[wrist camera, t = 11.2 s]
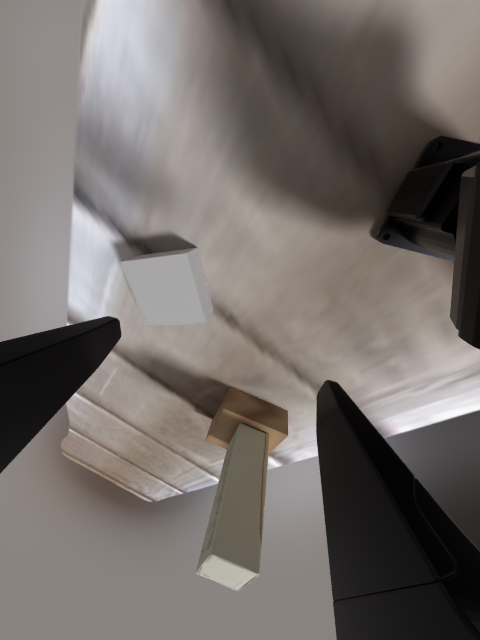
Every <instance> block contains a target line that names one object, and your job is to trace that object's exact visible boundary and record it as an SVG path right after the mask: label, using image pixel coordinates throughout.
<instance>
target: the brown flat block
mask: <svg viewBox="0 0 480 640" xmlns="http://www.w3.org/2000/svg"><path fill="white" fill-rule="evenodd" d="M239 424H244V425H246V426H249V427H251V428H254V429H256V430H259V431H261V432H263V433H266V434H268V435H269V451H268V454H269V453H270V452H272V451H273V450H274V449H275V448H276V447H277V446H278V445H279V444H280V443H281V442H282V441H283V440H284V439H285V438H286V437H287V436H288V411H287V410H284V409H282V408H279V407H277V406H275V405H272V404H270V403H268V402H265V401H263V400H260V399H258V398H256V397H253V396H251V395H249V394H246V393H244V392H241V391H239V390H237V389H234V388H232V387H230V388H229V390H228V392H227V394H226V395H225V397H224V399H223V401H222V403H221V405H220V406H219V408H218V410H217V412H216V414H215V416H214V417H213V419H212V422H211V425H210V428H209V431H208V434H207V437H206V441H208V442H210V443H213V444H215V445H218V446H220V447H223V448H225V449H227V447H228V445H229V443H230V441H231V439H232V437H233V435H234V433H235V431H236V430H237V428H238V426H239Z"/></svg>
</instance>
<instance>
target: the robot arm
mask: <svg viewBox="0 0 480 640" xmlns="http://www.w3.org/2000/svg"><path fill="white" fill-rule="evenodd" d="M435 143H438V145H439V147H438V149H437V150H436V151H435V152H434V151H433V146H434V144H435ZM387 212H388V217H387V219H386V221H385V223H384V225H383V227H382V228H381V230H380V232H379V234H378V236H377V240H378V241H379V242H381V243H383V244H387V245H391V246H395V247H399V248H403V249H407V250H411V251H415V252H419V253H423V254H426V255H430V256H434V257H438V258H442V259H446V260H450V261H454V272H453V285H452V298H451V311H450V318H451V320H452V322H453V323H454V325H455V327H456V328H457V329H458V330H459V333H458V336H459V337H460V338H461V339H463V340H464V341H466V342H467V343H469V344H470V345H472V346H474V347H476V348H478V349H480V144H476V143H472V142H467V141H463V140H458V139H454V138H449V137H445V136H440V137H437V138H435V139H432V140H431V141H430V142H429V143H428V144H427V146H426V147H425V149H424V151H423V153H422V155H421V156H420V158H419V160H418V162H417V164H416V166H415V167H414V169H413V170H411V171H410V172H408V173H407V175H406V177H405V179H404V181H403V183H402V185H401V186H400V188H399V190H398V192H397V194H396V196H395V198H394V200H393V201H392V203H391V205H390V207H389V209H388V211H387ZM386 233H388V237H387V238H386V239H383V236H384V235H385V234H386ZM120 338H121V328H120V321H119V320H118V319H117V318H114V317H110V316H107V317H103V318H98V319H94V320H90V321H86V322H82V323H78V324H73V325H69V326H65V327H61V328H57V329H52V330H48V331H44V332H40V333H36V334H32V335H28V336H23V337H19V338H15V339H11V340H7V341H2V342H0V473H1V472H2V471H3V470H4V469H5V468H6V467H7V466H8V465H9V463H10V462H11V461H12V460H13V459H14V458H15V457H16V456H17V455H18V454H19V453H20V452H21V451H22V449H23V448H24V447H25V446H26V445H27V444H28V443H29V442H30V441H31V440H32V439H33V438H34V437H35V435H36V434H37V433H38V432H39V431H40V430H41V429H42V428H43V427H44V426H45V425H46V424H47V422H48V421H49V420H50V419H51V418H52V417H53V416H54V415H55V414H56V413H57V411H58V410H59V409H60V408H61V407H62V406H63V405H64V404H65V403H66V402H67V401H68V400H69V399H70V398H71V397H72V395H73V394H74V393H75V392H76V391H77V390H78V389H79V388H80V387H81V386H82V385H83V384H84V383H85V381H86V380H87V379H88V378H89V377H90V376H91V375H92V374H93V373H94V372H95V371H96V369H97V368H98V367H99V366H100V365H101V363H102V362H103V361H104V359H105V358H106V357H107V355H108V354H109V353H110V351H111V350H112V349H113V347H114V346H115V345H116V343H117V342H118V341H119V339H120ZM316 432H317V446H318V456H319V465H320V475H321V485H322V494H323V505H324V514H325V525H326V535H327V544H328V554H329V565H330V574H331V583H332V584H331V585H332V594H333V600H334V601H333V607H334V616H335V626H336V636H337V640H480V551H479V549H478V548H477V547H476V546H475V545H474V544H473V543H472V542H471V541H470V539H469V538H468V537H467V536H466V535H465V534H464V533H463V532H462V531H461V529H460V528H459V527H458V526H457V525H456V524H455V523H454V522H453V520H452V519H451V518H450V517H449V516H448V515H447V514H446V512H445V511H444V510H443V509H442V508H441V506H440V505H439V504H438V503H437V502H436V501H435V500H434V498H433V497H432V496H431V495H430V494H429V492H428V491H427V490H426V489H425V488H424V487H423V485H422V484H421V483H420V481H419V480H418V479H417V478H415V476H414V474H413V473H412V472H411V471H410V469H409V468H408V467H407V466H406V465H405V463H404V462H403V461H402V460H401V459H400V457H399V456H398V455H397V454H396V453H395V451H394V450H393V449H392V448H391V447H390V446H389V444H388V443H387V442H386V441H385V439H384V438H383V437H382V436H381V434H380V433H379V432H378V431H377V430H376V428H375V427H374V426H373V425H372V424H371V422H370V421H369V420H368V419H367V418H366V416H365V415H364V414H363V413H362V411H361V410H360V409H359V408H358V407H357V405H356V404H355V403H354V402H353V401H352V399H351V398H350V397H349V396H348V395H347V393H346V392H345V391H344V390H343V389H342V387H341V386H340V385H339V384H338V383H337V382H334V381H331V380H326V381H325V382H324V384H323V385H322V387H321V388H320V390H319V392H318V394H317V422H316Z"/></svg>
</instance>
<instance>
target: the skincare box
mask: <svg viewBox="0 0 480 640" xmlns="http://www.w3.org/2000/svg"><path fill="white" fill-rule="evenodd" d="M268 451H269V435H268V434H266V433H263V432H261V431H259V430H256V429H254V428H251V427H249V426H246V425H244V424H239V426H238V428H237V430H236V431H235V433H234V435H233V437H232V439H231V441H230V443H229V445H228V447H227V451H226V456H225V459H224V463H223V467H222V471H221V475H220V479H219V483H218V487H217V491H216V495H215V499H214V503H213V507H212V511H211V515H210V519H209V523H208V527H207V531H206V534H205V539H204V543H203V546H202V550H201V554H200V558H199V562H198V566H197V570H196V574H198V575H201V576H203V577H206V578H208V579H211V580H213V581H215V582H218V583H220V584H222V585H224V586H226V587H229V588H231V589H233V590H235V591H239V590H240V589H242V588H243V587H245V586H246V585H248V584H249V583H251V582H252V581H253V580H254V579H256V578H257V577H258V576H259V575H260V562H261V547H262V534H263V519H264V506H265V493H266V478H267V465H268Z"/></svg>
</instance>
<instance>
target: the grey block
mask: <svg viewBox="0 0 480 640" xmlns="http://www.w3.org/2000/svg"><path fill="white" fill-rule="evenodd" d="M119 263H120V265H121V267H122V270H123V272H124V274H125V277H126V279H127V281H128V283H129V286H130V288H131V290H132V293H133V295H134V297H135V300H136V302H137V304H138V306H139V309H140V311H141V313H142V316H143V318H144V320H145V322H146V325H147V326H150V325H175V324H200V323H206V322H207V321H208V319H209V317H210V316H211V314H212V313H213V307H212V303H211V299H210V295H209V291H208V286H207V282H206V278H205V274H204V270H203V266H202V262H201V258H200V254H199V250H198V247H196V248H189V249H182V250H174V251H167V252H160V253H153V254H145V255H138V256H134V257H132V258H129V259H126V260H124V261H121V262H119Z"/></svg>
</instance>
